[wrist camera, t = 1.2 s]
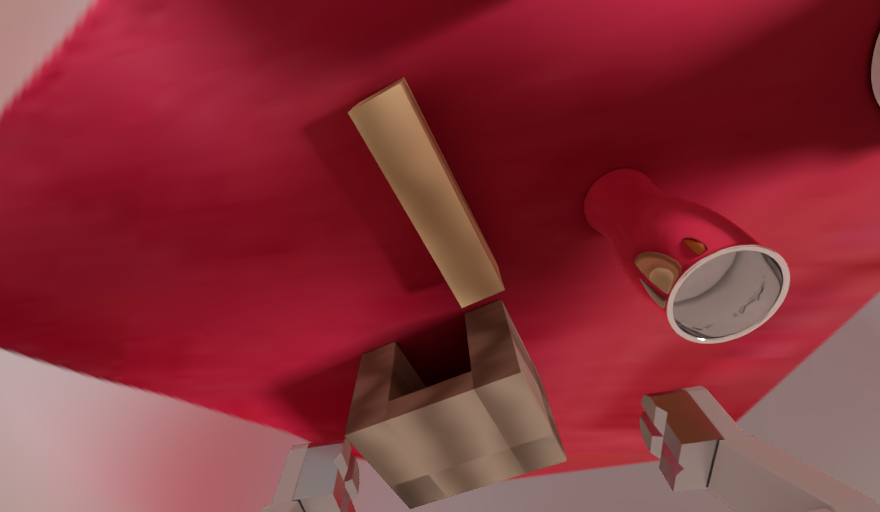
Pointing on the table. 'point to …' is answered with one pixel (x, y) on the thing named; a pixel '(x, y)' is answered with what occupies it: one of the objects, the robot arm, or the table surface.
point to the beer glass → (687, 258)
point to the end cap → (454, 416)
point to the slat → (427, 190)
